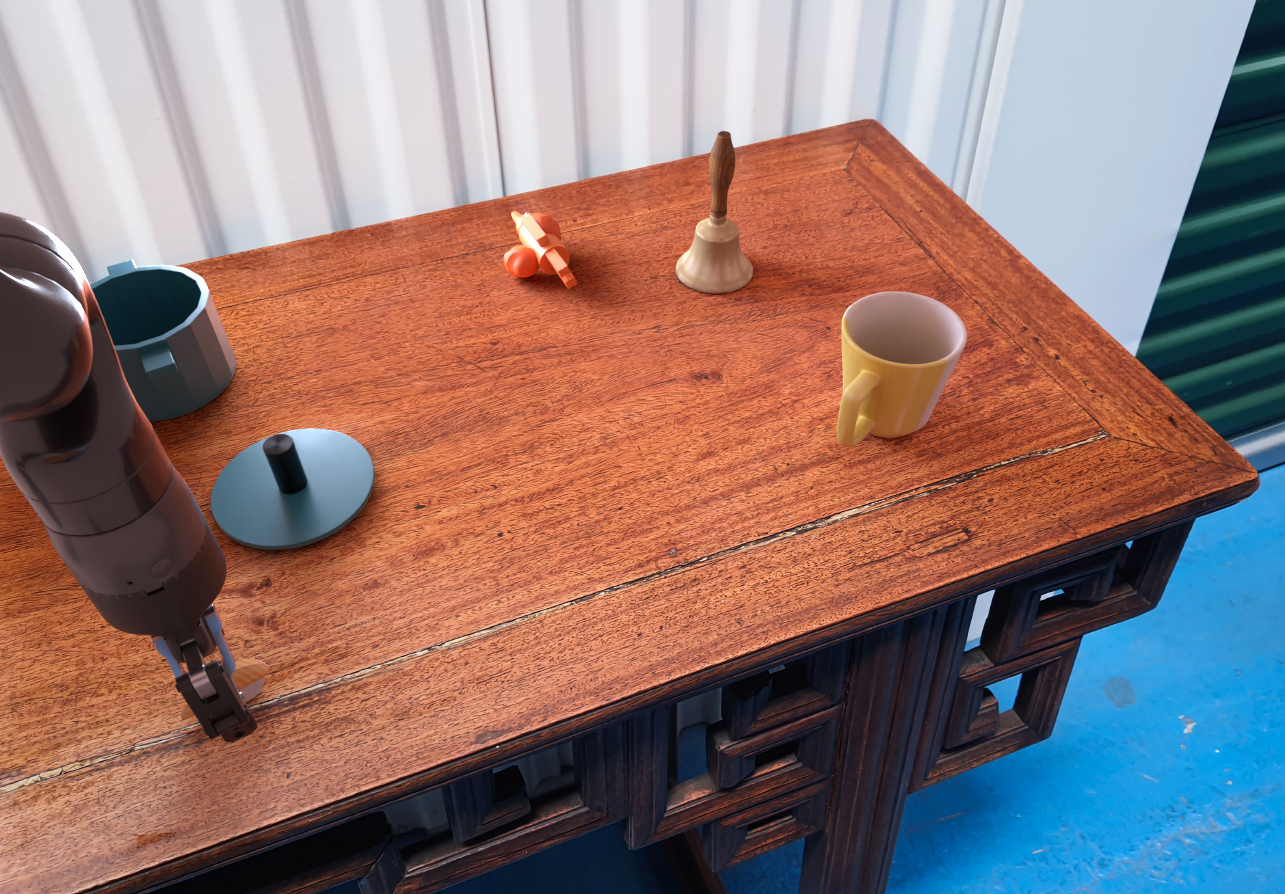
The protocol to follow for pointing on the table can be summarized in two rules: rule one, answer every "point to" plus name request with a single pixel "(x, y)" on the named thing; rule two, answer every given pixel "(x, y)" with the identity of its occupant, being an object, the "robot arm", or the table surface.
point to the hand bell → (716, 234)
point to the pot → (165, 337)
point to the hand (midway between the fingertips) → (225, 685)
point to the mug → (895, 363)
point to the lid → (292, 489)
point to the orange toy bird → (539, 248)
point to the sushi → (243, 680)
